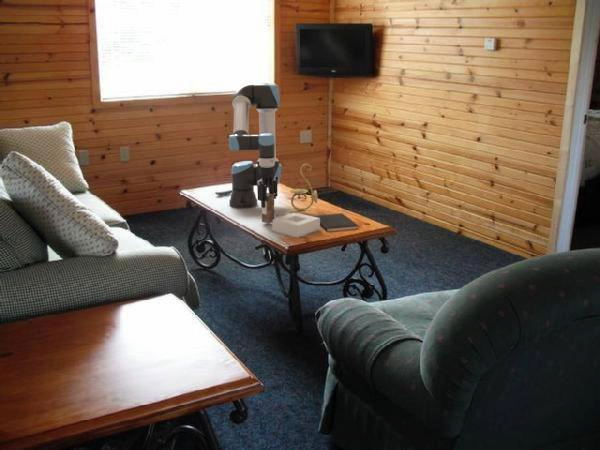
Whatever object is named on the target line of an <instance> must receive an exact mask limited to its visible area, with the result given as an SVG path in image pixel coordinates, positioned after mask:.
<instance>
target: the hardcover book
mask: <svg viewBox="0 0 600 450" xmlns="http://www.w3.org/2000/svg"><path fill="white" fill-rule="evenodd" d="M312 216H313V217H317V218H320V228H322V229H323V230H324V231H325V232H327V233H328V232H336V231H337V230H338V231H347V230H348V229H349V230H355V229H356V228H357V229H358V226H359V225H358V224H357V223H356V222H354V221H353V219H351V218H350V217H348V216H347V215H346V214H344V213H329V214H328V213H327V214H317V215H312ZM357 229H356V230H357Z"/></svg>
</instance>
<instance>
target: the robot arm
mask: <svg viewBox="0 0 600 450" xmlns="http://www.w3.org/2000/svg"><path fill="white" fill-rule="evenodd" d="M278 86H279V85H278V84H276V83H274V82H272V83H270V82H268V83H267V82H264V83H262V82H260V83H257V82H256V83H251V82H250V83H245V84H244V85H242V86H240V87H239V88H238V89H237V90H236V91H235V93H234V94H233V97H232V99H231V100H232V101H231V106H232V108H233V128H232V129H233V134H231V135H229V136H228V147H229V150H230V151H237V152H238V151H258V159H257V160H256V163H254V162H253V161H252V160H244V161H239V162H235V163H234V164H232V166H231V172H230V173H231V174H230V175H231V188H232V189H231V193H230V199H229V206H230V207H232V208H238V209H242V208H243V209H245V208H246V209H247V208H254V207H256V206H257V205H258V201H260V205H261V215H262V214H267V201H266V193H272V194H274V200H275V199H277V197H278V185H279V184H280V181H281V174H282V173H281V172H282V163H279V162H280V161H279V159H278V158H277V157H276V154H277V151H276V150H277V149H276V148H277V147H276V112H277V111H278V109H279V108H278V107H279V106H281V99H280V93H279V91H280V90H279V87H278ZM251 106H252V107H255V110H256V111H257V112H258V130H259V131H258V132H259V133H258V134H250V133H249V124H250V123H249V121H250V120H249V117H250V116H249V115H250V112H249V111H250V107H251ZM255 187H257V188H256V189H257V196H256V193H255Z"/></svg>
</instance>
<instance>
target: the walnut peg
mask: <svg viewBox="0 0 600 450" xmlns="http://www.w3.org/2000/svg"><path fill="white" fill-rule="evenodd" d="M266 201H267V214H262V213H261V222H262V223H264V224H268V225H269V224H271V223H272V224H273V219H275V199H274V194H272V193H269V192H267V193H266Z"/></svg>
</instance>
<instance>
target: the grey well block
mask: <svg viewBox="0 0 600 450" xmlns="http://www.w3.org/2000/svg"><path fill="white" fill-rule="evenodd" d="M313 216H314V215H312V216H311V215H307V214H303V213H298V212H292V213H288V214H286V215H282V216H279V217H276V218H274V219H273V222H272V232H273V233H276V234H280V235H284V236H289V237H293V238H297V239H300V238H302V237H305V236H308V235H311V234H314V233H316V232H319V231H321V226H320V218H317V217H313Z"/></svg>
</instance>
